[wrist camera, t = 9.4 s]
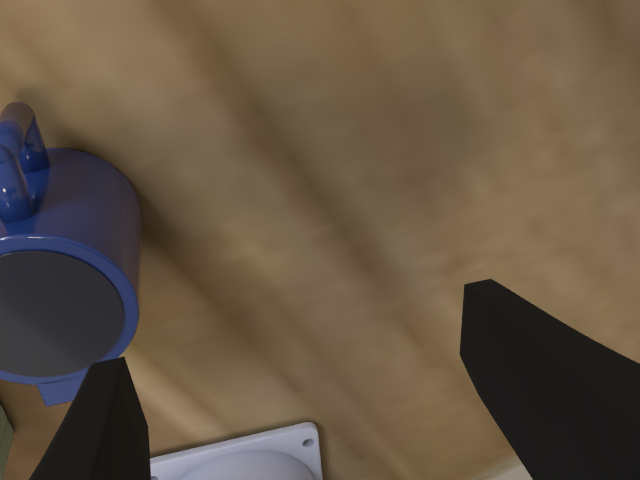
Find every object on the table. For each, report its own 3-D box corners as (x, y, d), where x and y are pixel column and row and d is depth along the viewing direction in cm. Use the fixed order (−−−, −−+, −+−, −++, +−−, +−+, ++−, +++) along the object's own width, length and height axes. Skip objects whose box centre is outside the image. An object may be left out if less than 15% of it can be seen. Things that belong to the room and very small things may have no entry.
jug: (159, 277, 22) (161, 384, 17) (19, 303, 21) (-16, 422, 17) (108, 76, 18) (93, 147, 13) (-67, 98, 17) (-144, 182, 13)
